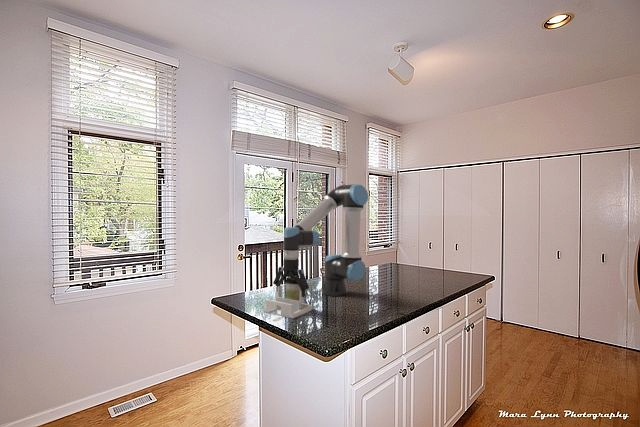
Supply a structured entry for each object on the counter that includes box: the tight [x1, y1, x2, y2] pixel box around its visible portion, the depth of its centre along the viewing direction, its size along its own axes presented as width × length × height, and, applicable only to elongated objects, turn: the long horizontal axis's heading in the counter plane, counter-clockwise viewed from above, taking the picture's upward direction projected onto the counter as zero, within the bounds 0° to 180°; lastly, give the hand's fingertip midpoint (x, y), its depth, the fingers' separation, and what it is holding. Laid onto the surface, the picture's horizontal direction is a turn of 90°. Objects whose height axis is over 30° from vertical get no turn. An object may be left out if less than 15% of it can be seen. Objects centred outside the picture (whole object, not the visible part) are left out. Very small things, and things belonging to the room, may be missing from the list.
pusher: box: [267, 296, 301, 315], centre depth 161 cm, size 15×14×6 cm
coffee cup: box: [284, 277, 301, 301], centre depth 171 cm, size 10×10×15 cm
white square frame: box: [263, 299, 314, 319], centre depth 168 cm, size 17×17×6 cm
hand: (290, 301), depth 169 cm, fingers open, 13 cm apart
